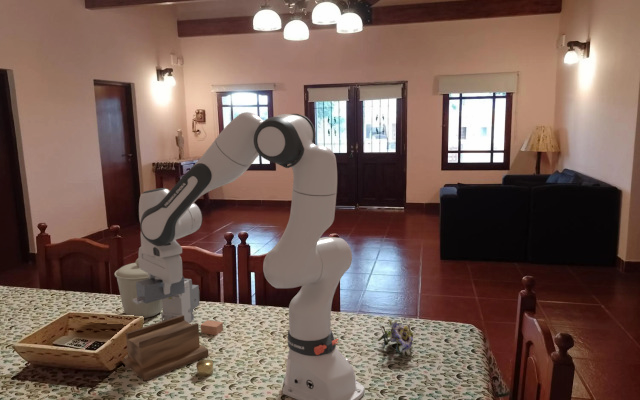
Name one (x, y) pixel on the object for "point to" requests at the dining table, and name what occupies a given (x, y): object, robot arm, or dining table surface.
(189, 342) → the stand
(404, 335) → the passion flower
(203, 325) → the terracotta block
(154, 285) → the slider plate with knob
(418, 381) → the dining table surface
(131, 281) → the canister
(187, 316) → the circuit breaker
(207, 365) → the brass knob
